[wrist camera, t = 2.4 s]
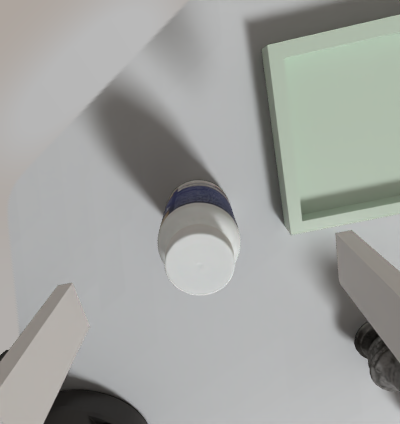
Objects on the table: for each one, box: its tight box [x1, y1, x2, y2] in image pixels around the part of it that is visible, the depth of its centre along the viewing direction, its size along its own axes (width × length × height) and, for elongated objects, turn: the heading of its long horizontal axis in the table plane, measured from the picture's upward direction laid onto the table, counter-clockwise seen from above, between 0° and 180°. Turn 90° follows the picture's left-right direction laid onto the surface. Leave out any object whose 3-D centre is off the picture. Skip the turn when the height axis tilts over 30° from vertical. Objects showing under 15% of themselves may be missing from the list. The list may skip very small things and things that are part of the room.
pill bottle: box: [158, 180, 240, 295], centre depth 22 cm, size 5×5×10 cm
